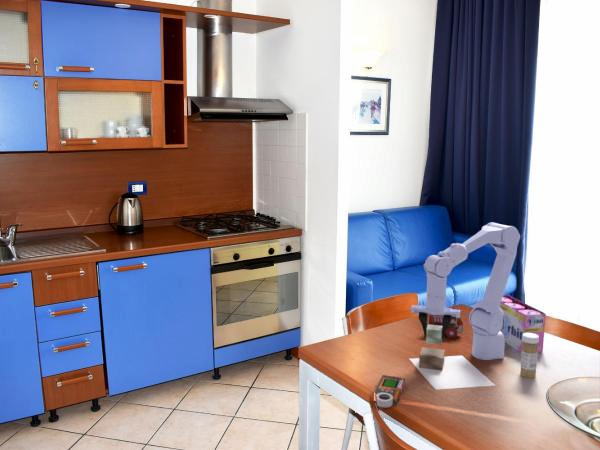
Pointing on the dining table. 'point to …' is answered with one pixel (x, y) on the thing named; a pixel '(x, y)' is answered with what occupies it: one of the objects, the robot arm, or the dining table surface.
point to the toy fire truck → (452, 327)
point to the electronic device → (389, 390)
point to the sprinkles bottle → (529, 355)
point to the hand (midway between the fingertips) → (434, 337)
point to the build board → (454, 374)
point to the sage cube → (434, 334)
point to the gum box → (521, 322)
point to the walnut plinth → (431, 358)
